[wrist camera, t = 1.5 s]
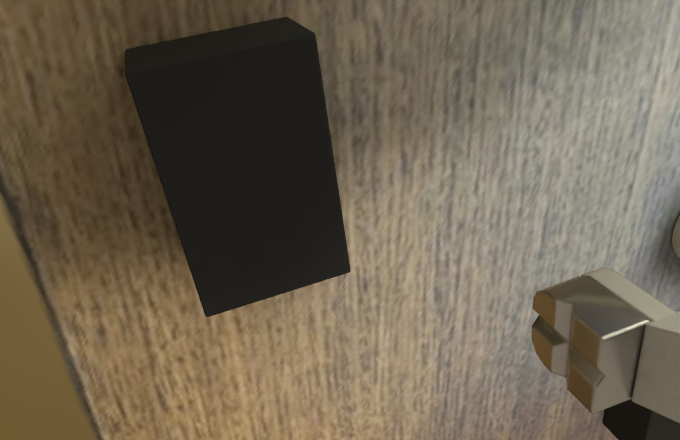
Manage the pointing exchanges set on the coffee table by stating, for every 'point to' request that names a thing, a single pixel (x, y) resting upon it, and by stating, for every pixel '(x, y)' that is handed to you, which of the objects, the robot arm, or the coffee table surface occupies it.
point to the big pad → (639, 423)
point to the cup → (676, 238)
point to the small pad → (243, 158)
